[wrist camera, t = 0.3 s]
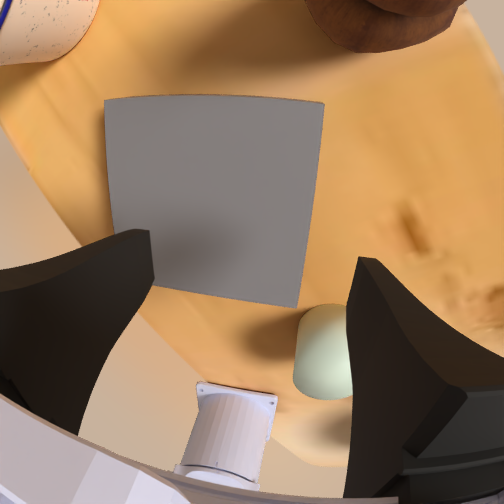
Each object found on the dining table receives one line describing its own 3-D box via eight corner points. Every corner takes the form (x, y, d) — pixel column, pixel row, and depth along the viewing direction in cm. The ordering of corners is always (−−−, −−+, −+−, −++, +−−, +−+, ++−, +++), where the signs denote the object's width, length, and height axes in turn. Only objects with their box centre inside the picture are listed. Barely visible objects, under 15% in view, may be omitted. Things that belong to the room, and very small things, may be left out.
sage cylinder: (353, 354, 25) (356, 402, 21) (293, 347, 26) (288, 395, 21) (369, 307, 22) (377, 356, 18) (303, 299, 23) (299, 348, 19)
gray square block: (299, 282, 22) (296, 308, 20) (140, 258, 24) (121, 279, 21) (322, 102, 17) (324, 104, 14) (130, 96, 18) (104, 100, 15)
